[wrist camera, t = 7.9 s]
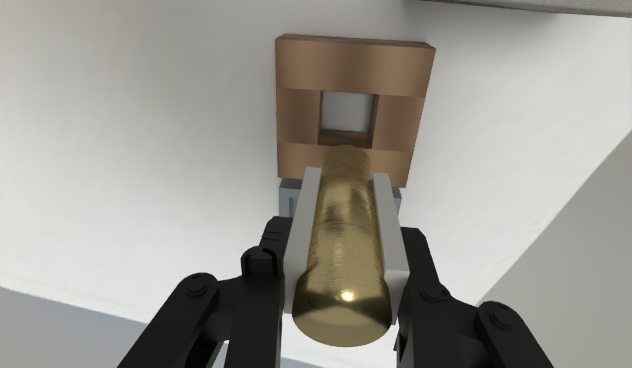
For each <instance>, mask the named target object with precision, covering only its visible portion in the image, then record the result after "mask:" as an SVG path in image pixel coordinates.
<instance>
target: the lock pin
mask: <svg viewBox="0 0 632 368" xmlns="http://www.w3.org/2000/svg"><path fill="white" fill-rule="evenodd" d="M318 168H321V179H320V185H319V192H318V198H317V204H316V211H315V217H314V223H313V230H312V236H311V242H310V249H309V255H308V261H307V268H306V271H305V272H304V273H303V274H302V275H301V276H300V278H299V279H298V281H297V285H296V289H295V295H294V300H293V305H292V317H293V320H294V322H295V324H296V326H297V327H298V328H299V329H300V330H301V332H303V333H304V334H305V335H306V336H308V337H309V338H311V339H313V340H315V341H317V342H320V343H323V344H326V345H330V346H336V347H356V346H362V345H366V344H369V343H371V342H374V341H376V340H377V339H379V338H380V337H382V336H383V335H384V334H385V333H386V332H387V331H388V329H389V328H390V326H391V323H392V308H391V301H390V293H389V288H388V285H387V283H386V281H385V280H384V275H383V267H382V259H381V250H380V242H379V234H378V226H377V217H376V209H375V201H374V193H373V184H372V175H373V172H374V171H373V165H372V161H371V159H370V157H369V156H368V155H367V153H365V152H364V151H363V150H362V149H360V148H358V147H355V146H352V145H340V146H336V147H333V148H332V149H330V150H328V151H327V152H326V153H325V154H324V155H323V156H322V158H321V160H320V163H319V167H318Z"/></svg>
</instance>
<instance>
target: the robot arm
mask: <svg viewBox="0 0 632 368" xmlns="http://www.w3.org/2000/svg"><path fill="white" fill-rule="evenodd" d="M320 179H321V168H315V167H306V171H305V175H304V179H303V183H302V187H301V191H300V195H299V199H298V203H297V207H296V211H295V215H294V218H291V217H280V216H274V217H273V218H272V219H271V220H269V221H268V222H267V224H266V227H265V230H264V233H263V235H262V239H261V241H260V244H259V246H254V247H252V248H250V249H248V250H247V251H245V252H244V253H243V255H242V257H241V269H242V275H241V276H239V277H236V278H232V279H228V280H221V281H217V279H216V278H215V277H214V276H213V275H211V274H209V273H196V274H192V275H190V276H188V277H186V278H184V279H183V280H182V281H181V282H180V283H179V284H178V285H177V287H176V288H175V289H174V291H173V292H172V293H171V295H170V296H169V297H168V299H167V300H166V302H165V303H164V304H163V306H162V307H161V308H160V310H159V311H158V312H157V314H156V315H155V316H154V318H153V319H152V320H151V322H150V323H149V325H148V326H147V327H146V329H145V330H144V331H143V333H142V334H141V335H140V337H139V338H138V340H137V341H136V342H135V344H134V345H133V346H132V348H131V349H130V350H129V352H128V353H127V354H126V356H125V357H124V358H123V360H122V361H121V362H120V364H119V365H118V367H117V368H212V366H213V364H214V361H215V360H216V357H217V355H218V353H219V351H220V349H221V347H222V345H223V343H224V341H226V340H229V344H228V349H227V354H226V359H225V364H224V368H280V354H281V336H282V315H283V310H284V313H287V314H292V305H293V300H294V295H295V289H296V285H297V281H298V279H299V278H300V276H301V275H302V274H303V273H304V272H305V271H306V268H307V261H308V255H309V249H310V242H311V236H312V230H313V223H314V217H315V211H316V204H317V198H318V192H319V185H320ZM372 184H373V193H374V201H375V209H376V217H377V226H378V234H379V242H380V250H381V259H382V267H383V275H384V280H385V281H386V283H387V285H388V288H389V293H390V301H391V308H392V323H391V325H395V324H396V320H397V316H398V322H399V331H398V334H397V338H396V341H395V345H394V349H393V350H394V351H396V350H397V368H554V367H553V365H552V364H551V362H550V361H549V359H548V358H547V356H546V355H545V353H544V351H543V350H542V348H541V347H540V345H539V344H538V343H537V341H536V339H535V338H534V336H533V335H532V333H531V332H530V330H529V329H528V327H527V326H526V324H525V323H524V321H523V319H522V318H521V317H520V316H519V315H518V314H517V312H515V311H514V310H513V309H511V308H510V307H508V306H506V305H504V304H502V303H500V302H494V301H487V302H483V303H482V304H481V305H480V306H479V308H478V307H475V306H472V305H469V304H467V303H464V302H461V301H459V300H457V299H455V298H453V297H452V296H451V294H450V292H449V291H448V290H447V288H446V287H445V286H444V285H442V284H441V283H440V282H439V278H438V275H437V272H436V269H435V266H434V263H433V259H432V256H431V255H430V250H429V247H428V243H427V240H426V237H425V236H424V235H423V233H422V232H421V231H420V230H419V229H418V228H409V227H400V225H399V220H398V216H397V211H396V206H395V202H394V197H393V193H392V188H391V184H390V179H389V174H388V173H376V172H373V175H372Z"/></svg>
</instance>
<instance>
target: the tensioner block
mask: <svg viewBox="0 0 632 368" xmlns="http://www.w3.org/2000/svg"><path fill="white" fill-rule="evenodd" d="M275 49H276V106H277V162H278V177H283V178H295V179H304V175H305V171H306V167H315V168H318V167H319V163H320V160H321V158H322V156H323V155H324V154H325V153H326V152H327V151H328V150H330V149H332V148H333V147H336V146H340V145H352V146H355V147H358V148H360V149H362V150H363V151H364V152H365V153H367V155H368V156H369V157H370V159H371V161H372V165H373V171H374V172H376V173H388V174H389V179H390V184H391V187H400V188H405V187H406V183H407V178H408V174H409V169H410V165H411V160H412V156H413V151H414V147H415V142H416V138H417V133H418V128H419V124H420V119H421V115H422V110H423V106H424V101H425V97H426V92H427V88H428V83H429V79H430V74H431V70H432V65H433V61H434V56H435V51H436V48H434V47H432V46H430V45H429V44H427V43H425V42H409V41H393V40H376V39H359V38H343V37H326V36H309V35H293V34H284V35H282V36H280V37H278V38H276V39H275ZM323 91H337V92H352V93H366V94H375V95H374V102H373V109H372V117H371V124H370V131H369V133H365V132H352V131H339V130H326V129H321V117H322V99H323Z"/></svg>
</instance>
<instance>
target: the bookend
mask: <svg viewBox="0 0 632 368" xmlns="http://www.w3.org/2000/svg"><path fill="white" fill-rule="evenodd" d="M422 1H433V2H444V3H455V4H466V5H477V6H488V7H499V8H510V9H520V10H531V11H542V12H553V13H566V14H582V15H597V16H613V17H628V18H632V0H422Z"/></svg>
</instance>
